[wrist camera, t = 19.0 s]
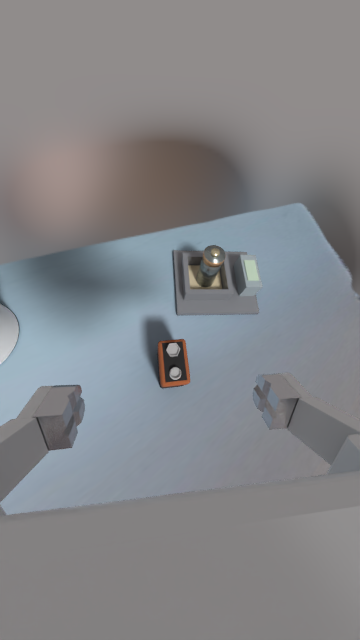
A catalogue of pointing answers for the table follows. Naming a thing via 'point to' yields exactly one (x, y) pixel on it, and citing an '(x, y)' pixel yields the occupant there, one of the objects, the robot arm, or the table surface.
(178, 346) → the battery
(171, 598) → the robot arm
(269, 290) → the table surface
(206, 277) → the cell
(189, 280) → the tester
